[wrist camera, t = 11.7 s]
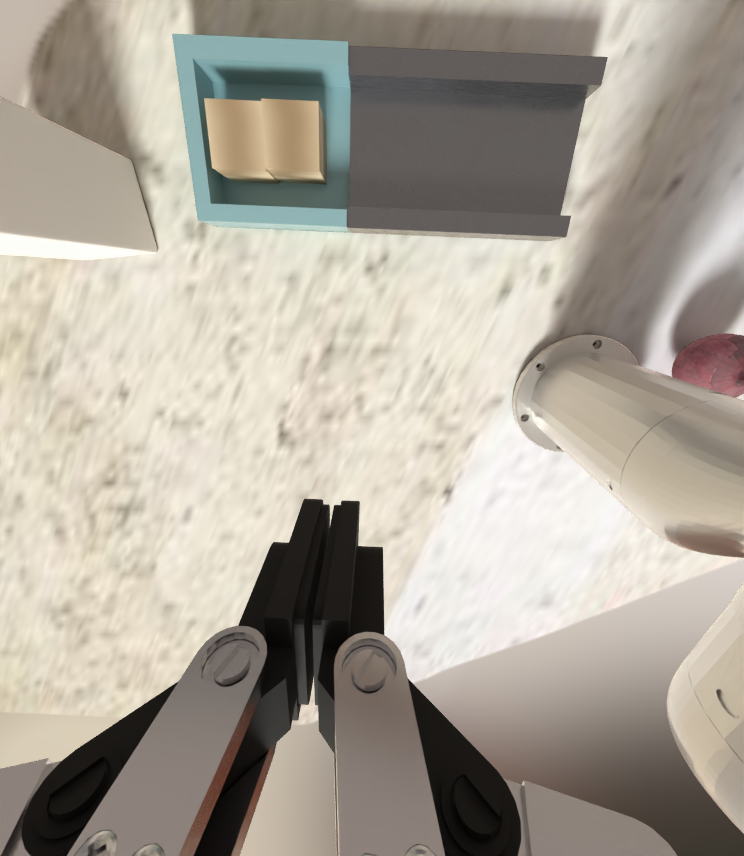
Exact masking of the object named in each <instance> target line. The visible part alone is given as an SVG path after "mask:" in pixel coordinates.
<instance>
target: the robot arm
mask: <svg viewBox="0 0 744 856" xmlns="http://www.w3.org/2000/svg"><path fill="white" fill-rule="evenodd" d="M593 343H594V344H593ZM537 364H539V366H538V367H536V366H537ZM513 413H514V417H515V420H516V423H517V425H518V427H519V428H520V430H521V431H522V433H523V434H524V435H525V436H526V437H527V438H528V439H529V440H530V441H532V442H533V443H534V444H536V445H538V446H540V447H542V448H544V449H547V450H551V451H555V452H565V453H566V454H568V455H569V456H570V457H571V458H572V459H573V460H574V461H575V462H576V463H577V464H578V465H580V466H581V467H582V468H583V469H584V470H585V471H586V472H587V473H588V474H589V475H590V476H592V477H593V478H594V479H595V480H596V481H597V482H598V483H599V484H600V485H601V486H602V487H603V488H605V489H606V490H607V491H608V492H609V493H610V494H611V495H612V496H613V497H614V498H615V499H617V500H618V501H619V502H620V503H621V504H622V505H623V506H624V507H625V508H626V509H627V510H628V511H630V512H631V513H632V514H633V515H634V516H635V517H636V518H637V519H639V520H640V521H641V522H642V523H643V524H644V525H645V526H646V527H648V528H649V529H650V530H651V531H653V532H654V533H655V534H657V535H658V536H660V537H662V538H663V539H665V540H667V541H669V542H671V543H673V544H675V545H678V546H680V547H683V548H685V549H689V550H693V551H697V552H700V553H706V554H711V555H719V556H728V557H741V558H744V401H743V400H740V399H738V398H735V397H732V396H729V395H726V394H723V393H720V392H717V391H714V390H711V389H707V388H704V387H701V386H698V385H695V384H692V383H689V382H686V381H683V380H680V379H677V378H674V377H671V376H668V375H664V374H661V373H658V372H655V371H652V370H649V369H646V368H643V367H640V366H639V364H638V362H637V360H636V358H635V356H634V355H633V354H632V353H631V351H630V350H629V349H628V348H627V347H625V346H624V345H623V344H621V343H620V342H618V341H615V340H613V339H611V338H608V337H604V336H599V335H588V334H585V335H577V336H571V337H568V338H565V339H562V340H559V341H557V342H555V343H553V344H551V345H549V346H548V347H547V348H545V349H544V350H542V351H541V352H540V353H538V354H537V355H536V356H535V357H534V358H533V359H532V360H531V361H530V362H529V363H528V365H527V366H526V368H525V369H524V370H523V372H522V373H521V375H520V377H519V379H518V381H517V383H516V387H515V390H514V394H513ZM522 415H523V416H522ZM521 416H522V417H521ZM359 505H360V502H359V501H342V502H341V505H334V510H333V515H332V520H331V525H330V507H329V505H323V500H319V499H304V501H303V503H302V506H301V509H300V512H299V515H298V518H297V521H296V524H295V527H294V530H293V533H292V536H291V539H290V542H289V543H280V542H274V543H273V544H272V545H271V547H270V549H269V552H268V554H267V556H266V559H265V561H264V564H263V566H262V569H261V571H260V574H259V576H258V579H257V581H256V584H255V586H254V588H253V591H252V593H251V596H250V598H249V601H248V603H247V606H246V608H245V611H244V613H243V616H242V618H241V620H240V623H239V625H238V626H235V627H231V628H227V629H225V630H223V631H221V632H219V633H217V634H215V635H214V636H213V637H211V638H210V639H209V640H208V641H206V642H205V644H204V645H203V646H202V647H201V649H200V650H199V651H198V652H197V654H196V655H195V657H194V659H193V660H192V662H191V663H190V665H189V666H188V668H187V669H186V671H185V673H184V674H183V676H182V677H181V679H180V680H179V681H178V682H177V683H175V684H174V685H172V686H171V687H169V688H168V689H166V690H165V691H163V692H162V693H160V694H159V695H157V696H156V697H154V698H153V699H151V700H150V701H148V702H147V703H145V704H144V705H142V706H141V707H139V708H138V709H136V710H135V711H133V712H132V713H130V714H129V715H127V716H126V717H124V718H123V719H121V720H120V721H118V722H117V723H116V724H114V725H113V726H111V727H109V728H108V729H106V730H105V731H103V732H102V733H101V734H99V735H98V736H96V737H94V738H93V739H91V740H90V741H89V742H87V743H85V744H84V745H83V746H81V747H80V748H78V749H77V750H75V751H74V752H73V753H71V754H70V755H69V756H68V757H66V758H65V759H64V760H63V761H59V762H55V763H51V762H50V760H49V759H48V758H47V759H43V760H39V761H34V762H29V763H25V764H20V765H16V766H11V767H7V768H2V769H0V856H240V853H241V850H242V847H243V844H244V841H245V838H246V835H247V832H248V829H249V827H250V824H251V821H252V818H253V815H254V812H255V809H256V806H257V803H258V800H259V797H260V794H261V791H262V788H263V786H264V783H265V780H266V777H267V774H268V771H269V768H270V765H271V762H272V759H273V756H274V753H275V748H276V744H277V741H278V740H280V738H282V737H283V736H284V735H285V734H286V733H287V732H288V731H289V730H290V729H291V723H292V720H298V718H299V712H300V707H301V704H305V705H308V704H309V701H310V696H311V690H312V683H313V677H314V686H315V705H318V712H319V731H320V733H321V734H322V736H323V737H324V739H325V740H326V742H327V743H328V745H329V746H330V748H331V749H332V751H333V752H334V783H335V823H336V824H335V825H336V856H677V855H676V853H675V852H674V851H673V849H672V848H671V847H670V845H669V844H668V843H667V842H666V841H665V840H664V839H663V838H661V836H659V835H658V834H657V833H656V832H655V831H654V830H653V829H652V828H651V827H649V826H647V825H645V824H643V823H642V822H640V821H638V820H636V819H634V818H631V817H628V816H626V815H623V814H620V813H617V812H614V811H611V810H608V809H606V808H603V807H600V806H597V805H594V804H590V803H588V802H585V801H582V800H579V799H576V798H574V797H571V796H567V795H565V794H562V793H559V792H556V791H553V790H550V789H547V788H544V787H542V786H539V785H536V784H533V783H530V782H527V781H523V783H522V785H520V784H517V783H514V782H512V781H509V780H505V779H503V778H502V777H501V775H500V774H499V773H498V771H497V770H496V769H495V768H494V767H493V766H492V765H491V764H490V763H489V762H488V761H487V760H486V759H485V758H484V757H483V756H482V755H481V754H480V753H479V751H477V750H476V748H475V747H473V745H472V744H471V743H470V742H469V741H468V740H467V739H466V738H465V737H464V736H463V735H462V734H461V733H460V732H459V731H458V730H457V729H456V728H455V727H454V726H453V725H452V724H451V723H450V722H449V721H448V720H447V718H446V717H445V716H444V715H443V714H442V713H441V712H440V711H439V710H438V709H437V708H436V707H435V706H434V705H433V704H432V703H431V702H430V701H429V700H428V699H427V698H426V697H425V696H424V695H423V694H422V693H421V692H420V691H419V690H418V689H417V688H416V687H415V686H414V684H413V683H412V682H411V681H410V680H409V679H408V678H407V674H406V669H405V664H404V660H403V658H402V655H401V652H400V650H399V649H398V647H397V646H396V645H395V643H394V642H393V641H391V640H390V639H389V638H387V637H386V636H384V589H383V547H365V546H358V533H359ZM667 713H668V719H669V723H670V727H671V730H672V733H673V736H674V738H675V741H676V743H677V745H678V747H679V749H680V751H681V753H682V755H683V757H684V758H685V760H686V762H687V763H688V765H689V767H690V768H691V770H692V772H693V773H694V775H695V776H696V778H697V779H698V780H699V782H700V783H701V785H702V786H703V787H704V788H705V790H706V791H707V792H708V794H709V795H710V796H711V797H712V799H713V800H714V801H715V802H716V804H717V805H718V806H719V807H720V808H721V810H722V811H723V812H724V813H725V814H726V815H727V816H728V817H729V819H730V820H731V821H732V822H733V823H734V824H735V825H736V826H737V827H738V828H739V829H740V830H741V831H742V832H743V833H744V583H743V584H742V586H741V587H740V588H739V590H738V591H737V592H736V593H735V595H734V597H733V600H732V601H731V603H730V604H729V605H728V606H727V608H726V609H725V610H724V611H723V613H722V614H721V615H720V616H719V617H718V618H717V620H716V621H715V622H714V623H713V625H712V626H711V627H710V628H709V629H708V631H707V632H706V633H705V634H704V635H703V637H702V638H701V639H700V640H699V642H698V643H697V644H696V645H695V646H694V648H693V649H692V651H691V652H690V653H689V655H688V656H687V657H686V658H685V660H684V661H683V662H682V664H681V665H680V667H679V668H678V670H677V671H676V673H675V675H674V677H673V679H672V681H671V683H670V687H669V691H668V695H667Z"/></svg>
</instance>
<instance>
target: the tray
mask: <svg viewBox="0 0 744 856" xmlns="http://www.w3.org/2000/svg"><path fill="white" fill-rule="evenodd" d="M172 36H173V43H174V50H175V58H176V65H177V72H178V79H179V86H180V94H181V101H182V108H183V115H184V123H185V130H186V137H187V144H188V152H189V159H190V166H191V173H192V181H193V188H194V195H195V202H196V209H197V217H198V221H201V222H204V223H207V224H210V225H213V226H216V227H236V228H260V229H283V230H306V231H329V232H349V230H348V228H347V206H349V183H350V96H351V88H350V81H349V43H348V41H328V40H305V39H282V38H259V37H235V36H212V35H189V34H172ZM204 98H210V99H230V100H251V101H261V98H262V99H282V100H303V101H319V104H320V107H321V110H322V113H323V116H324V119H325V122H326V138H327V185H326V184H306V183H285V182H280V184H266V183H245V182H232V181H231V180H229V179H228V178H226V177H225V176H223V175H222V174H221V173H219V172H218V171H216V170H215V169H213V168H212V163H211V154H210V145H209V136H208V127H207V119H206V110H205V101H204Z"/></svg>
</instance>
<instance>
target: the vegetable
mask: <svg viewBox="0 0 744 856" xmlns="http://www.w3.org/2000/svg"><path fill="white" fill-rule="evenodd" d="M672 377H674V378H677V379H680V380H683V381H686V382H689V383H692V384H695V385H698V386H701V387H704V388H707V389H711V390H714V391H717V392H720V393H723V394H726V395H729V396H732V397H735V398H736V397H738V396H740V395H742V394H744V336H742V335H735V334H717V335H712V336H708V337H704V338H702V339H699V340H697V341H695V342H693V343H691V344H690V345H688V346H687V347H686V348H684V349H683V350H682V351H681V352H680V353H679V354H678V356H677V357H676V359H675V361H674V363H673V367H672Z"/></svg>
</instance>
